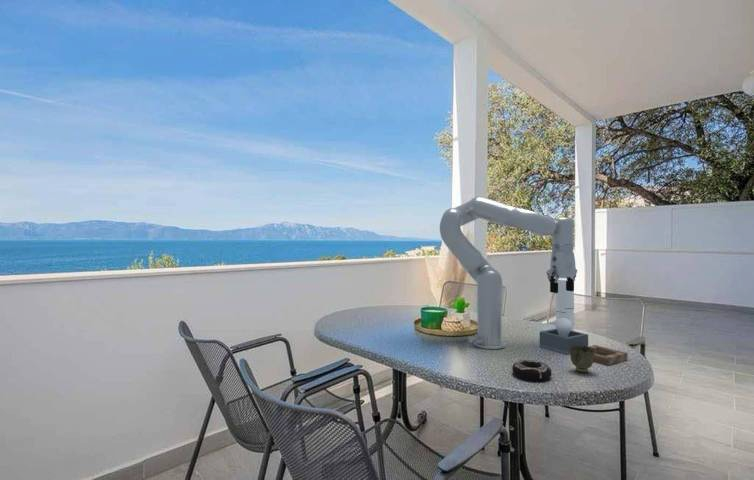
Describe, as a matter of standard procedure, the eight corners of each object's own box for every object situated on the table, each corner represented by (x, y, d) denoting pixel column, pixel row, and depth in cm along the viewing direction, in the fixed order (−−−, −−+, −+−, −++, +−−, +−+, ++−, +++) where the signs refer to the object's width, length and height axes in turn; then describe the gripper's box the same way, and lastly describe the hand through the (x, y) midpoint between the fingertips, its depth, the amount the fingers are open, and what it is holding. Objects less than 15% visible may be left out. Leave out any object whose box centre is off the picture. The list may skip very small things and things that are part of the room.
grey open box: (568, 354, 147) (568, 338, 147) (539, 346, 157) (539, 331, 157) (588, 349, 153) (588, 334, 153) (559, 342, 164) (559, 327, 164)
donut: (511, 380, 122) (511, 367, 122) (513, 368, 133) (513, 356, 133) (552, 385, 118) (552, 372, 118) (550, 372, 128) (550, 360, 128)
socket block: (608, 365, 134) (608, 358, 134) (575, 356, 144) (575, 349, 144) (627, 360, 140) (627, 353, 140) (594, 351, 150) (594, 345, 150)
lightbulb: (564, 348, 151) (565, 320, 151) (551, 344, 156) (551, 317, 156) (575, 346, 154) (575, 318, 154) (561, 342, 159) (562, 315, 159)
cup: (564, 368, 132) (564, 344, 132) (585, 367, 132) (585, 344, 132) (578, 376, 124) (577, 351, 124) (600, 375, 125) (599, 350, 125)
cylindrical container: (575, 337, 170) (575, 280, 170) (558, 337, 172) (558, 280, 171) (571, 333, 177) (571, 278, 177) (554, 333, 179) (554, 278, 178)
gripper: (556, 249, 147) (556, 294, 148) (584, 248, 156) (584, 291, 156) (539, 248, 154) (539, 292, 154) (567, 248, 162) (567, 289, 163)
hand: (562, 291), depth 155 cm, fingers open, 9 cm apart
